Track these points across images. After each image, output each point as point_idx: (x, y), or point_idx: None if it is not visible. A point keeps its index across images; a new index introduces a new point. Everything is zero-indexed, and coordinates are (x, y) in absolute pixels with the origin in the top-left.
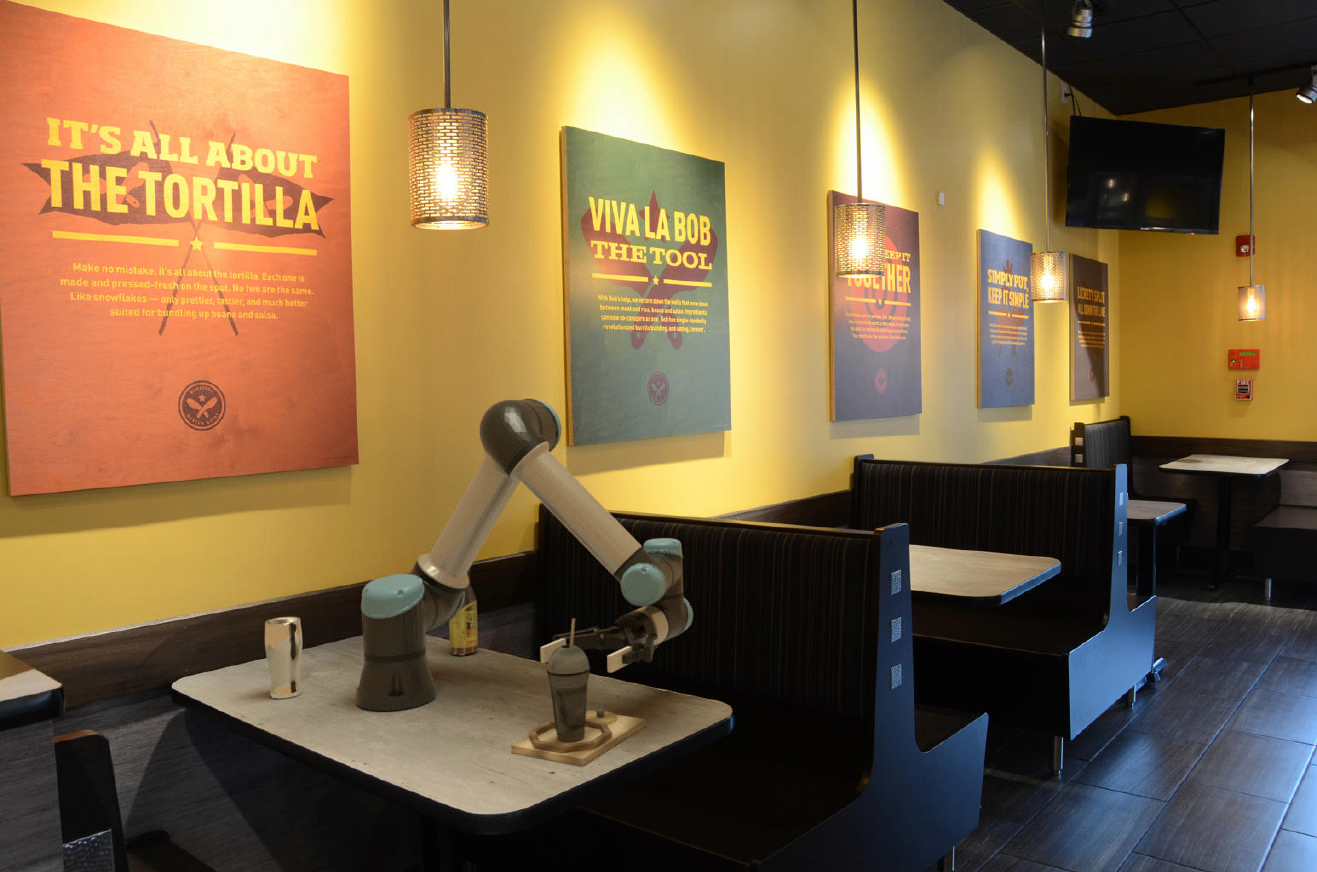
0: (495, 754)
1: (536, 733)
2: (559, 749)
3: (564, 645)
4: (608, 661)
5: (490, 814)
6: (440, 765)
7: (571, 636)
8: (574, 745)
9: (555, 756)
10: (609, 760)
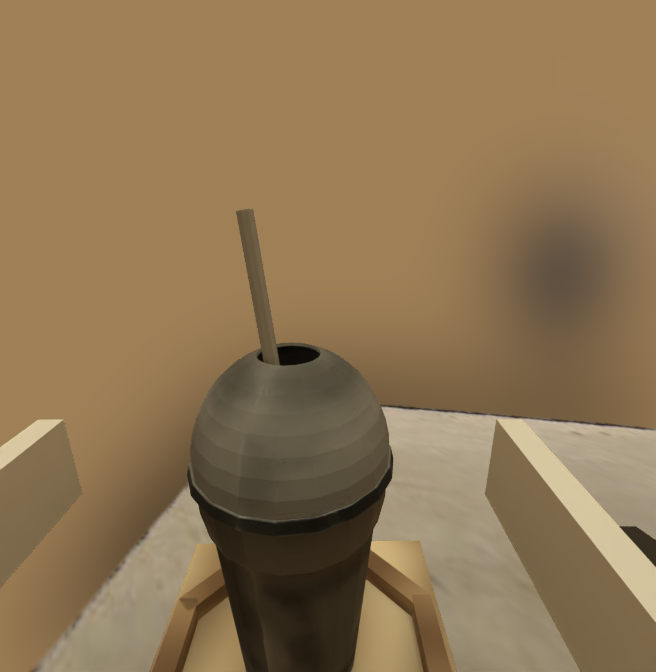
0: (440, 533)
1: (414, 615)
2: None
3: (315, 360)
4: (63, 447)
5: None
6: (474, 463)
7: (262, 306)
8: None
9: None
10: (131, 621)
